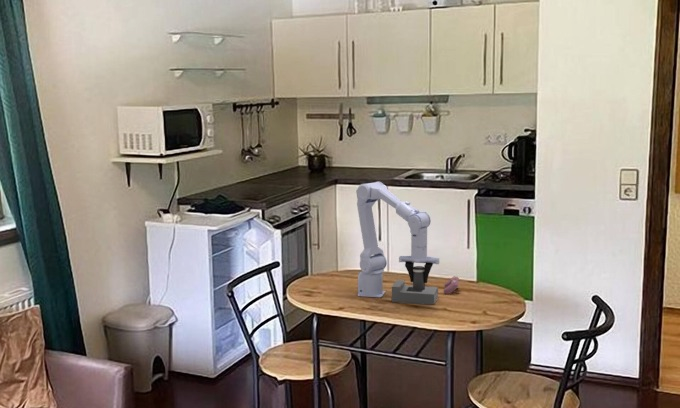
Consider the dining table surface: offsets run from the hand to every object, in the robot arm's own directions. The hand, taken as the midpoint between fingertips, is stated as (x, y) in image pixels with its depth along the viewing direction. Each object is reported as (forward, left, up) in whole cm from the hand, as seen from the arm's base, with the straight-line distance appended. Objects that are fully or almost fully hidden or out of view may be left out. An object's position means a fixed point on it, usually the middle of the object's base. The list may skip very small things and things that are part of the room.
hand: (418, 282), depth 255 cm
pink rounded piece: (+9, +23, -10) cm, 26 cm away
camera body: (-3, +8, -9) cm, 13 cm away
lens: (0, 0, -3) cm, 3 cm away
